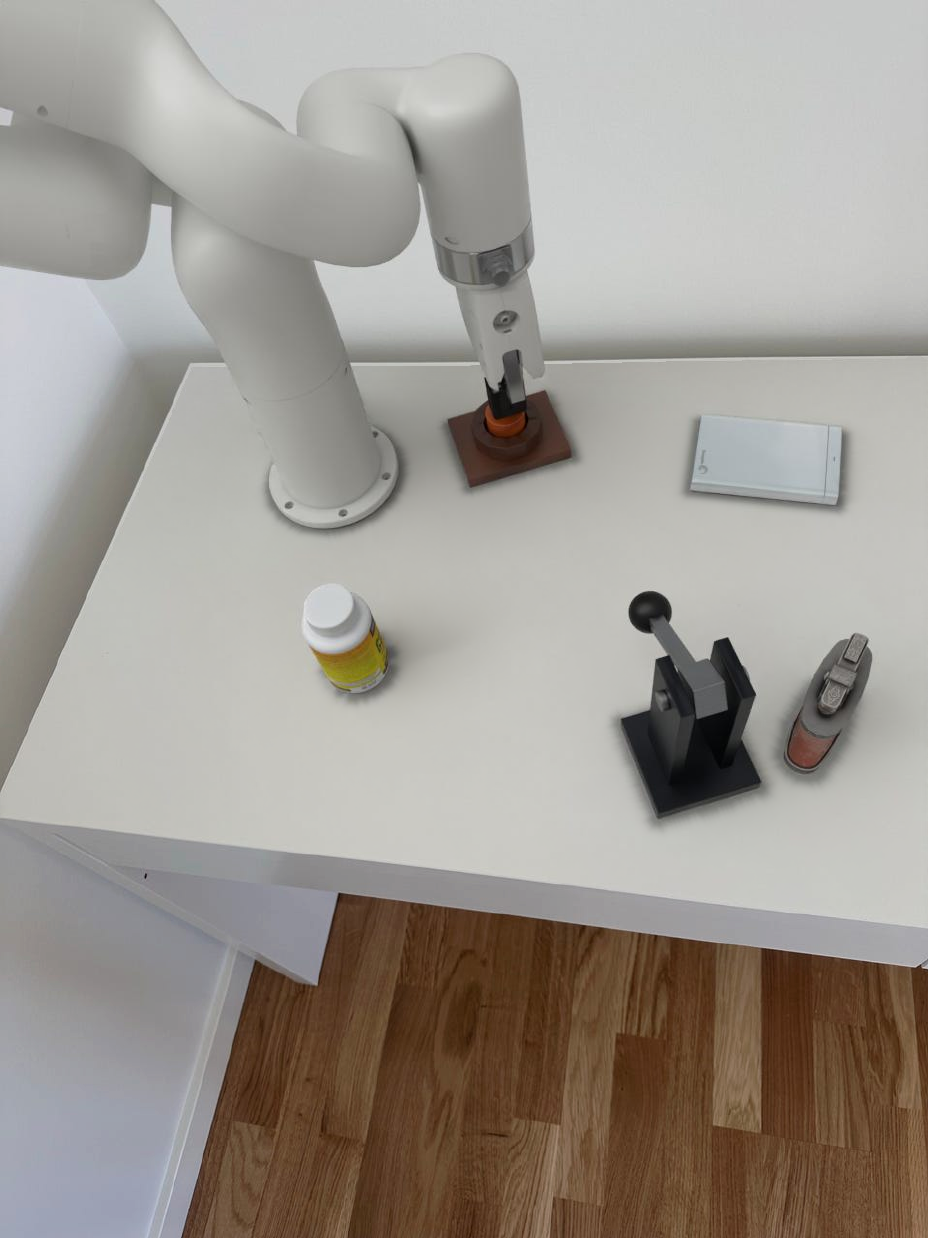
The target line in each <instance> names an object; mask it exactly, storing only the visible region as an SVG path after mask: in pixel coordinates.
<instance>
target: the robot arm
mask: <svg viewBox="0 0 928 1238" xmlns="http://www.w3.org/2000/svg"><path fill="white" fill-rule="evenodd" d="M0 108H1V109H5V110H8V111H11V112H12V115H11V120H10V125H5V124H4V125H3V124H0V267H5V268H6V267H7V268H11V269H18V270H24V271H29V272H36V273H43V274H50V275H55V276H62V277H68V278H74V279H83V280H90V281H91V280H92V281H109V280H115V279H118V278H122V277H124V276H126V275H127V274H129V273H130V272H132V271H133V270H134V269H135V268H136V267H138V266H139V263H140V262H141V260H142V258H143V257H144V254H145V251H146V248H147V246H148V245H147V244H148V240H149V234H150V226H151V220H152V219H151V217H152V205H156V206H157V205H158V206H163V207H169V208H171V212H170V213H171V214H170V215H171V216H170V217H171V218H170V221H171V222H170V247H171V257H172V264H173V269H174V273H175V277H176V280H177V283H178V286H179V289H180V291H181V294H182V295H183V297H184V300H185V301H186V304H188V306H189V308H190V309H191V311H192V312H193V314H194V315H195V316H196V317H197V319H198V320H199V322H200V323H201V324H202V326H203V327H204V328H205V330H206V331H207V333H208V334H209V336H210V338H211V340H212V341H213V343H214V345H215V346H216V349H217V350H218V352H219V354H220V356H221V357H222V360H223V361H224V364H225V365H226V368H227V370H228V372H229V373H230V375H231V378H232V380H233V382H234V384H235V385H236V388H237V390H238V392H239V393H240V395H241V398H242V400H243V402H244V404H245V406H246V408H247V410H248V412H249V414H250V416H251V419H252V420H253V423H254V424H255V426H256V430H257V431H258V434H259V435H260V437H261V439H262V441H263V443H264V445H265V448H266V449H267V452H268V454H269V456H270V458H271V460H272V464H271V466H270V469H269V476H268V488H269V491H270V495H271V497H272V500H273V502H274V503H275V506H276V507H277V509H278V510H279V511H280V512H281V513H282V514H283V515H284V516H285V517H286V518H288V519H289V520H290V521H292V522H294V523H296V524H298V525H300V526H303V527H307V528H311V529H312V528H313V529H324V530H326V529H335V528H341V527H344V526H345V527H346V526H349V525H352V524H354V523H356V522H359V521H361V520H364V519H365V518H366V517H368V516H370V515H371V514H374V512H376V511H377V510H378V509H379V508H380V507H381V506H382V505H383V504H384V503H385V502H386V501H387V499H388V498H389V497H390V496H391V494H392V492H393V491H394V488H395V486H396V483H397V481H398V477H399V467H400V465H399V460H398V455H397V451H396V450H395V446H394V445H393V443H392V441H391V440H390V438H389V437H388V436H387V435H386V434H385V433H384V431H382V430H381V429H378V428H377V427H375V426H374V425H372V424H371V423H370V420H369V418H368V414H367V411H366V408H365V405H364V402H363V398H362V396H361V392H360V389H359V386H358V383H357V380H356V378H355V373H354V370H353V368H352V365H351V361H350V358H349V355H348V352H347V350H346V346H345V343H344V340H343V337H342V335H341V331H340V329H339V326H338V323H337V319H336V317H335V314H334V312H333V309H332V306H331V304H330V301H329V299H328V297H327V294H326V291H325V289H324V288H323V285H322V282H321V279H320V277H319V273H318V271H317V270H318V269H317V267H316V264H315V262H320V263H323V264H327V265H328V264H329V265H333V266H338V267H339V266H340V267H347V268H368V267H374V266H380V265H382V264H385V263H387V262H390V261H392V260H393V259H395V258H396V257H398V256H400V255H401V254H402V253H403V252H404V251H405V250H406V249H407V248H408V246H409V245H410V244H411V242H412V241H413V239H414V237H415V235H416V232H417V230H418V227H419V224H420V219H421V218H420V217H421V210H422V209H421V207H422V205H421V197H420V196H421V195H420V189H421V194H422V199H423V204H424V209H425V213H426V218H427V222H428V227H429V228H428V229H429V233H430V238H431V242H432V247H433V252H434V257H435V262H436V267H437V271H438V273H439V275H440V276H441V277H442V279H443V280H445V281H446V282H447V283H448V284H450V285H451V286H454V287H455V291H456V297H457V301H458V305H459V309H460V312H461V317H462V320H463V323H464V327H465V329H466V332H467V335H468V338H469V340H470V343H471V346H472V349H473V351H474V353H475V356H476V358H477V361H478V363H479V365H480V367H481V370H482V372H483V375H484V377H483V380H484V384H485V390H486V397H487V400H488V403H489V407H490V409H491V411H492V415H493V417H494V419H496V420H497V419H501V418H504V417H507V416H511V415H514V414H517V413H520V412H524V411H525V410H526V409H527V402H526V396H527V394H526V386H525V379H524V370H525V371H526V372H527V374H528V375H529V377H531V379H532V380H537V379H539V378H542V377H543V376H544V375H545V372H546V366H545V360H544V353H543V346H542V339H541V333H540V326H539V320H538V314H537V309H536V304H535V297H534V293H533V288H532V284H531V279H530V276H529V273H528V270H529V268H530V267H531V265H532V264H533V261H534V259H535V255H536V249H535V237H534V230H533V228H534V227H533V216H532V208H531V207H532V206H531V196H530V195H531V194H530V185H529V175H528V165H527V162H528V161H527V155H526V144H525V143H526V142H525V132H524V131H525V130H524V121H523V111H522V110H523V109H522V99H521V92H520V88H519V84H518V81H517V78H516V76H515V73H513V71H512V70H511V68H510V67H509V66H508V65H507V64H506V63H505V62H503V61H502V60H501V59H498V58H497V57H494V56H492V55H489V54H484V53H479V52H461V53H455V54H452V55H448V56H445V57H442V58H439V59H437V60H435V61H433V62H431V63H430V64H428V65H426V66H413V67H412V66H411V67H350V68H343V69H338V70H333V71H330V72H327V73H326V74H323V75H321V76H319V77H317V78H316V79H315V80H313V82H311V83H310V84H309V86H307V87H306V89H305V90H304V92H303V93H302V96H301V97H300V100H299V102H298V106H297V111H296V120H295V121H296V123H295V124H296V125H295V127H296V134H295V133H292V132H290V131H288V130H287V129H286V128H285V126H284V125H283V124H282V123H281V122H280V121H279V120H278V119H277V118H276V117H274V116H273V115H271V114H270V113H269V112H268V111H266V110H264V109H263V108H261V107H259V106H257V105H254V104H252V103H250V102H247V101H244V100H242V99H239V98H236V97H235V95H233V94H232V93H230V92H229V91H228V90H227V89H226V88H225V87H224V86H223V85H222V84H221V83H220V82H219V81H218V79H217V78H215V77H214V76H213V74H212V73H211V72H210V70H208V68H207V66H205V64H204V63H203V62H202V60H201V59H200V58H199V56H198V55H197V53H196V52H195V51H194V49H193V48H192V46H191V44H190V43H189V42H188V40H187V39H186V37H185V36H184V35H183V33H182V31H181V30H180V29H179V28H178V26H177V24H175V22H174V21H173V20H172V19H171V17H170V16H169V15H168V14H167V12H166V11H165V10H164V8H163V7H161V5H160V4H159V3H158V2H156V0H0ZM419 186H420V187H419ZM523 368H524V369H523Z"/></svg>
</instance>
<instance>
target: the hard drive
mask: <svg viewBox="0 0 928 1238" xmlns="http://www.w3.org/2000/svg"><path fill="white" fill-rule="evenodd" d="M842 439H843V425H837V424H828V423H827V424H826V423H815V422H814V423H812V422H802V421H792V420H782V419H771V418H757V417H747V416H746V417H745V416H735V415H726V414H725V415H724V414H712V413H701V414H700V420H699V426H698V432H697V439H696V446H695V452H694V459H693V467H692V474H691V480H690V486H689V487H690V488H689V491H693V492H701V493H713V494H723V495H731V496H741V497H751V498H761V499H770V500H771V499H772V500H780V501H781V500H782V501H790V502H792V501H793V502H802V503H812V504H821V505H830V506H836V505H837V503H838V501H839V495H840V481H841V480H840V479H841V460H842V441H843V440H842Z"/></svg>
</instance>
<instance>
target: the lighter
mask: <svg viewBox="0 0 928 1238" xmlns="http://www.w3.org/2000/svg"><path fill="white" fill-rule="evenodd" d="M869 642H870V639H869V637H868V636H867V635H865V634H863V633H860V632H853V633H852V634H851V635H850V637H849V638H845V639H841V640H838V641H837V642H836V643H835V644H834V645H833V647H832V648H831V649H830V651H828V652H827V654H826V655H825V656H824V658H823V659H822V660H821V662H820V665H818V667H817V669H816V671H815V673H814V675H813V676H812V679H811V681H810V683H809V686H808V689H807V691H806V693H805V697H804V699H803V702H802V705H800V707H799V709H798V711H797V712H796V713H795V717H794V719H793V720H792V721H793V722H792V724H791V726H790V729H789V731H788V734H787V738H786V742H785V745H784V751H783V760H784V763H785V765H786V766H787V767H788V768H789V769H790V770H791V771H793V772H795V773H797V774H801V775H810V774H813V773H815V772H816V771H817V770H818V769H819V768H820V767H821V766H822V764H823V763H824V762H825V760H826V759H827V757H828V756H829V755H830V753H831V751H832V750H833V748H834V746H835V744H836V743H837V741H838V739H839V738H840V736H841V734H842V732H843V730H844V729H845V727H846V726H847V723H848V722H849V720H850V718H852V715H853V713H854V711H855V710H856V708H857V707H858V704H859V703H860V701H861V699H862V698H863V696H864V692H865V689H866V687H867V684H868V682H869V678H870V673H871V668H872V664H873V653H872V651H871V649H870V647H868V645H869Z"/></svg>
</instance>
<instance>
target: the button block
mask: <svg viewBox="0 0 928 1238" xmlns="http://www.w3.org/2000/svg"><path fill="white" fill-rule="evenodd" d="M526 402H527V409H526V410H525V411H524V412H525V426H524V428H523V430H522V431H521V432H520V433H519V434H517V435H516V436H513V437H510V438H499V437H496V436H494V435H493V434H491V432H490V431H489V430H488V427H487V421H486V415H485V411H486V408H487V406H488V405H489V403H488V399H487V400H485V401H484V402H483V403H482V404H481V405H480V406H479V407H477V408H476V409H475V410H473V411H470V412H466V413H463V414H460V415H459V414H458V415H456V416H453V417H449V418H446V421H447V425H448V426H447V427H448V430H449V432H450V436H451V438H452V440H453V443H454V447H455V449H456V453H457V455H458V458H459V460H460V463H461V466H462V470H463V472H464V475H465V478H466V481H467V483H468V486H469V488H473V487H478V486H480V485H483V484H488V483H491V482H493V481H497V480H500V479H501V480H502V479H504V478H507V477H510V476H514V475H517V474H521V473H524V472H528V471H531V470H534V469H537V468H541V467H544V466H547V465H550V464H551V465H552V464H554V463H557V462H561V461H565V460H568V459H570V458H572V448H571V446H570V443H569V441H568V439H567V436H566V435H565V432H564V429H563V427H562V425H561V422H560V421H559V418H558V416H557V414H556V411H555V409H554V407H553V405H552V403H551V400H550V398H549V396H548V393H547V391H546V389H544V390H541V391H537V392H534V393H530V394H526Z"/></svg>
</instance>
